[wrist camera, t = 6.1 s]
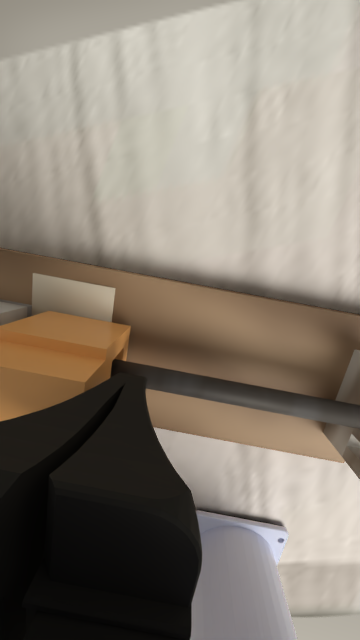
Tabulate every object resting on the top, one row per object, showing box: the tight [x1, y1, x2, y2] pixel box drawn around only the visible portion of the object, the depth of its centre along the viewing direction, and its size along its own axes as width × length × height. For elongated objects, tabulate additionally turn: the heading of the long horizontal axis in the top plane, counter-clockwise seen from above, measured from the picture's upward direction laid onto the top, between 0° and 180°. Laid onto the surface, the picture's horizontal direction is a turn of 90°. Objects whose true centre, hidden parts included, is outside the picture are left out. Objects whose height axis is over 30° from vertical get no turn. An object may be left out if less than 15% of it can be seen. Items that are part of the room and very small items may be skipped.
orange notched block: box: [0, 311, 131, 421], centre depth 11 cm, size 4×5×6 cm
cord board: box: [0, 248, 360, 479], centre depth 13 cm, size 10×28×6 cm, turn 80°
